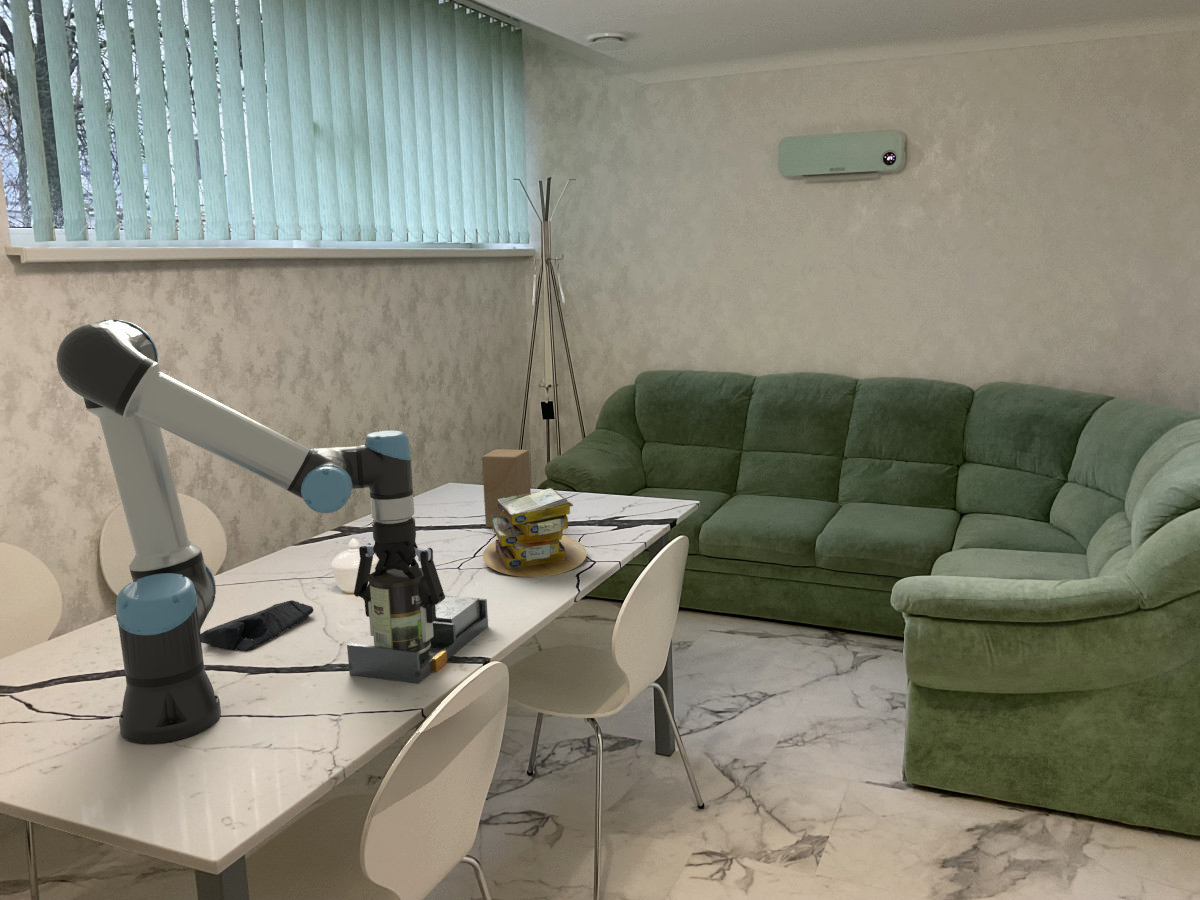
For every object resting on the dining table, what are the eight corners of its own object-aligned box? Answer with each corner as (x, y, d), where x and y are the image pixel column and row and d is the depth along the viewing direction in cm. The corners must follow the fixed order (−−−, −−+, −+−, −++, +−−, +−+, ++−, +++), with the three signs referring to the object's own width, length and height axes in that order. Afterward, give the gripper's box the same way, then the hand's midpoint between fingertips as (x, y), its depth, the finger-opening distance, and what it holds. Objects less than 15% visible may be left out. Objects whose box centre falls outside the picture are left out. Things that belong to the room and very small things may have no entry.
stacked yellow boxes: (593, 572, 232) (591, 502, 229) (486, 581, 228) (482, 510, 225) (577, 543, 256) (575, 479, 253) (480, 550, 252) (477, 486, 249)
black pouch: (326, 618, 209) (324, 597, 208) (242, 656, 191) (240, 633, 190) (274, 608, 217) (272, 587, 216) (189, 643, 198) (186, 621, 197)
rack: (422, 683, 175) (419, 650, 173) (349, 674, 179) (346, 642, 178) (491, 626, 200) (489, 596, 199) (426, 619, 205) (424, 591, 204)
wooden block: (485, 527, 273) (481, 456, 269) (499, 518, 283) (495, 448, 279) (519, 529, 270) (515, 457, 266) (532, 519, 280) (529, 449, 276)
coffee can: (439, 638, 187) (434, 566, 184) (418, 660, 177) (413, 584, 174) (387, 635, 189) (382, 564, 186) (364, 657, 179) (358, 582, 176)
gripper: (460, 516, 178) (467, 634, 182) (350, 509, 186) (359, 623, 190) (439, 527, 171) (447, 650, 175) (326, 519, 179) (337, 637, 183)
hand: (402, 636), depth 183 cm, fingers closed on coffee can, 10 cm apart
